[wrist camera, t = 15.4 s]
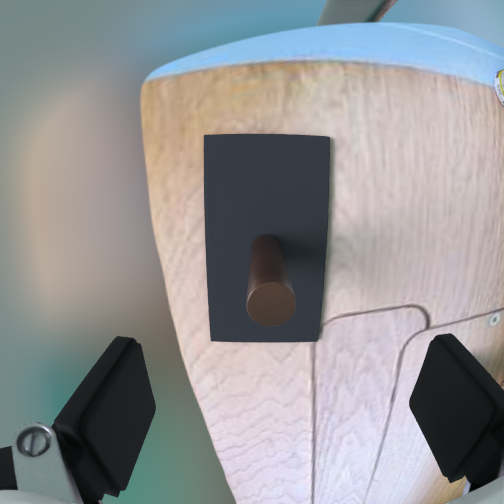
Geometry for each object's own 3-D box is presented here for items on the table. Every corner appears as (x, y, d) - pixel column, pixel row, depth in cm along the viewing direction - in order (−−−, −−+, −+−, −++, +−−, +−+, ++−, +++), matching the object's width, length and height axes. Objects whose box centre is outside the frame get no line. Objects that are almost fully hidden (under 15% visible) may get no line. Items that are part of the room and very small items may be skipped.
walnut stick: (251, 234, 27) (246, 282, 15) (280, 234, 27) (297, 282, 15) (251, 262, 27) (246, 327, 16) (280, 262, 27) (294, 327, 16)
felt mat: (204, 135, 25) (203, 135, 24) (328, 137, 25) (329, 136, 24) (211, 338, 30) (210, 341, 30) (317, 339, 30) (317, 341, 29)
